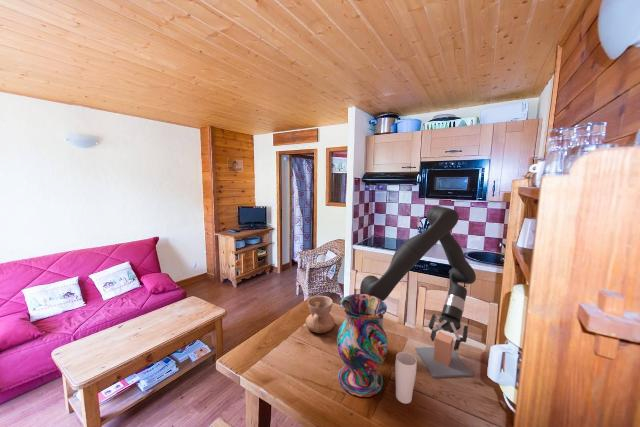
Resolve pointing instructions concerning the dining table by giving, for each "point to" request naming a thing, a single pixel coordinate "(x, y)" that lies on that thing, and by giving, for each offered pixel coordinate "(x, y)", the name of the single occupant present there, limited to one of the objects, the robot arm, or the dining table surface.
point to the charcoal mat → (439, 370)
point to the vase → (362, 344)
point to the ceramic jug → (320, 315)
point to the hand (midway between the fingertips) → (443, 345)
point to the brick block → (443, 349)
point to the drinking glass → (405, 376)
